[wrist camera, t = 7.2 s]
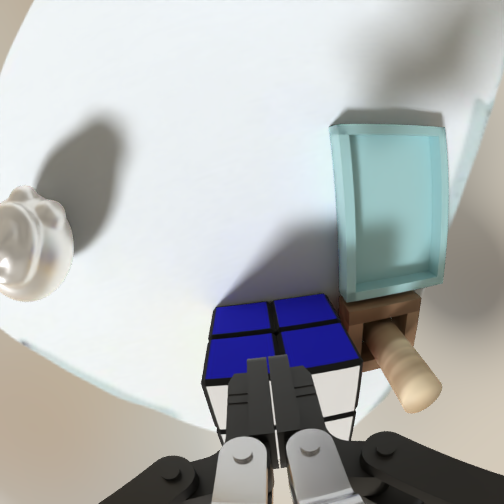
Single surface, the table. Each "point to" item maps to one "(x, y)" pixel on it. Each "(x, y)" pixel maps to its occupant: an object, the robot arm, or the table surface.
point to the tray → (390, 207)
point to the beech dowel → (401, 365)
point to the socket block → (368, 310)
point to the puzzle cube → (297, 349)
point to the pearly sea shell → (33, 245)
